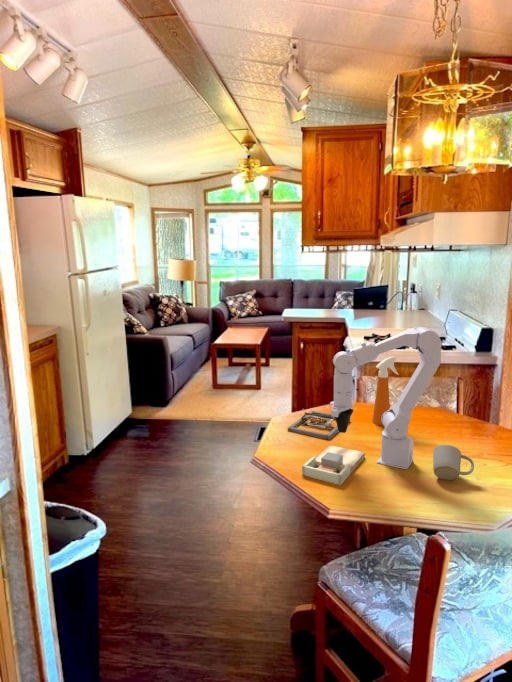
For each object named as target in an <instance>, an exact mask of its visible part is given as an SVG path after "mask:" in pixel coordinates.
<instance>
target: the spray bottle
mask: <svg viewBox="0 0 512 682" xmlns="http://www.w3.org/2000/svg"><path fill="white" fill-rule="evenodd" d="M396 360H397V356H396V355H395V356H394V355H393V356H389V357H387V358H385V359H384V360H381V361H379V363H377V365H375V368H376V369H379V370H378V375H377V383H376V391H375V398H374V405H373V415H372V423H373V424H374V425H378V426H383V424H382V421H381V418H382V415H383V414H384V413H385V412H386V411H388V410H389V409H390V407H391V404H390V388H389V371H388V368H389V369H390V370H391V371H392V372H393V373H394V374H396V375H398V376H399V375H400V374H399V373H398V371H397V368H396V367H395V361H396Z"/></svg>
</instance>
